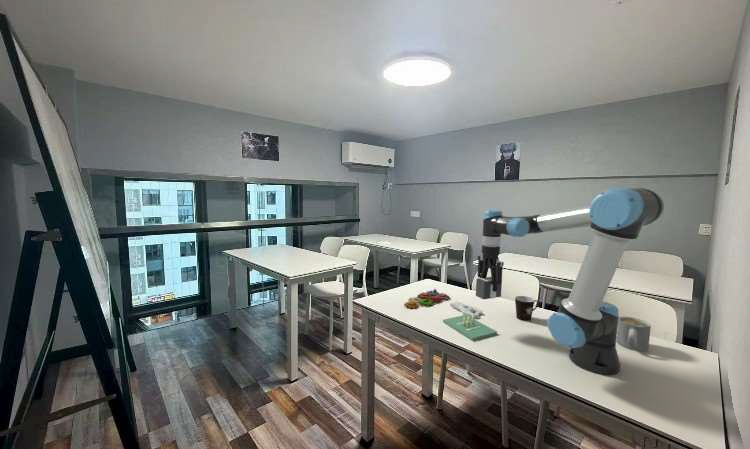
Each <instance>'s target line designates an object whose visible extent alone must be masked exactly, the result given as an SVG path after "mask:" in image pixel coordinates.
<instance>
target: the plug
mask: <svg viewBox="0 0 750 449" xmlns="http://www.w3.org/2000/svg"><path fill="white" fill-rule="evenodd" d="M491 283H492V278H491V276H487V277H486V278H480V277H478V278H476V283H475V284H476V285H475V286H476V287H475V296H476V297H478V298H479V299H481V300H484V301H485V300H489V299H491V298H490V288H491ZM502 286H503V282H502V283H501V284H498V285H497V291H496V298H500V297H502V288H503V287H502Z"/></svg>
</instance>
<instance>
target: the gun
mask: <svg viewBox="0 0 750 449" xmlns="http://www.w3.org/2000/svg"><path fill="white" fill-rule="evenodd" d="M449 306H450V307H452V308H454V309H456V310H458V311H460V313H462V316H463V315H467V316H469V317H471V318H472V316H475V317H474V319H480V315H481V316H483V310H481V309H479V308H477V307H476V308H475V307H473V306H472V305H468V304H465V303H462V302H460V301H457V300H456V301H455V302H450V303H449Z"/></svg>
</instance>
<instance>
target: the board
mask: <svg viewBox="0 0 750 449" xmlns="http://www.w3.org/2000/svg"><path fill="white" fill-rule="evenodd" d="M474 317H475V316H472V318H471V317H469V316H467V315H463V314H462V315H458V316H455V317H450V318H444V319H442V323H444V324H445V325H447V327H449V328H451V329H453V330H454V331H456V332H458V333H459V334H461V335H463V337H466V338H467V339H468V340H470V341H473V342H474V341H476V340H481V339H484V338H489V337H492V336H496V335H498V331H497V330H495V329H493V328H491V327H489V326H487V325H486V324H483V323H482V322H480V321H478V320H477V319H476V318H474Z"/></svg>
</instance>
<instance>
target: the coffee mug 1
mask: <svg viewBox="0 0 750 449" xmlns="http://www.w3.org/2000/svg"><path fill="white" fill-rule="evenodd" d="M514 300H515V303H514V304H515V314H516V319H517V320H520V321H521V322H529V321H531V320H532V316H533V312H534V311H535V310H536V309H537V308H538V306H540V303H539V301H538V300H535V299H534V298H533V297H530V296H525V295H516V296H515V297H514ZM535 302H536V304H537V305H536V306H535ZM534 306H535V307H534Z"/></svg>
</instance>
